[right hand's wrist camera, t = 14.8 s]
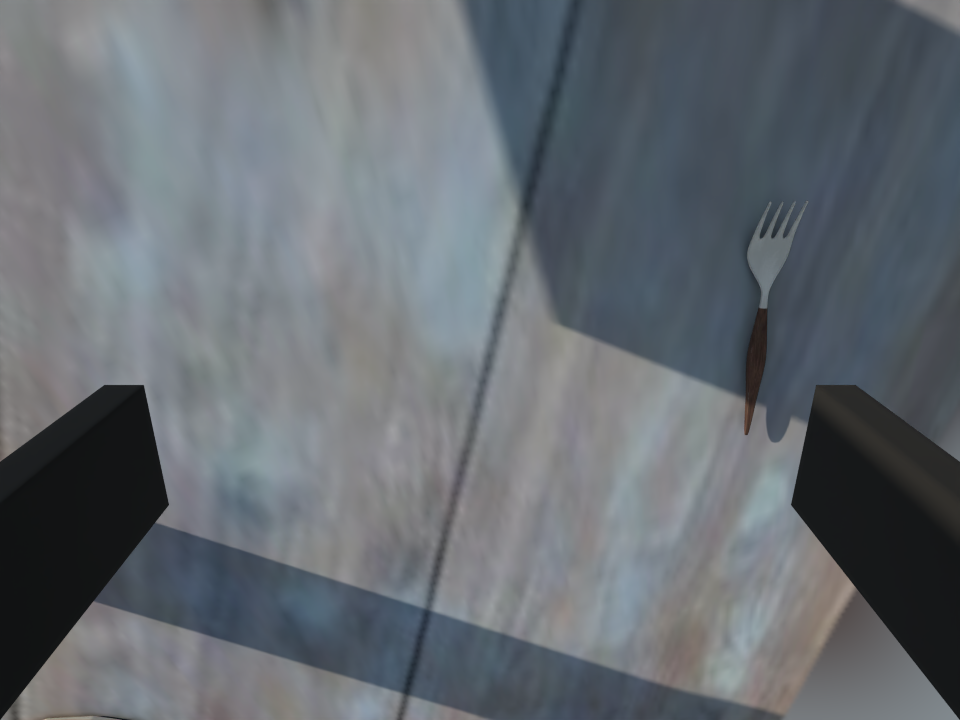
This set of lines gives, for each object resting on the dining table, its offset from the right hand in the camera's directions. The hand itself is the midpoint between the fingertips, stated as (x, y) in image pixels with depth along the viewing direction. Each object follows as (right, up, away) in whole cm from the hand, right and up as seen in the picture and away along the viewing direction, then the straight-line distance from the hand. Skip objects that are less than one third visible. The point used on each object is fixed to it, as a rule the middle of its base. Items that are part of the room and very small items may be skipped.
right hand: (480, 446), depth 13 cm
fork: (+18, +4, +29) cm, 34 cm away
